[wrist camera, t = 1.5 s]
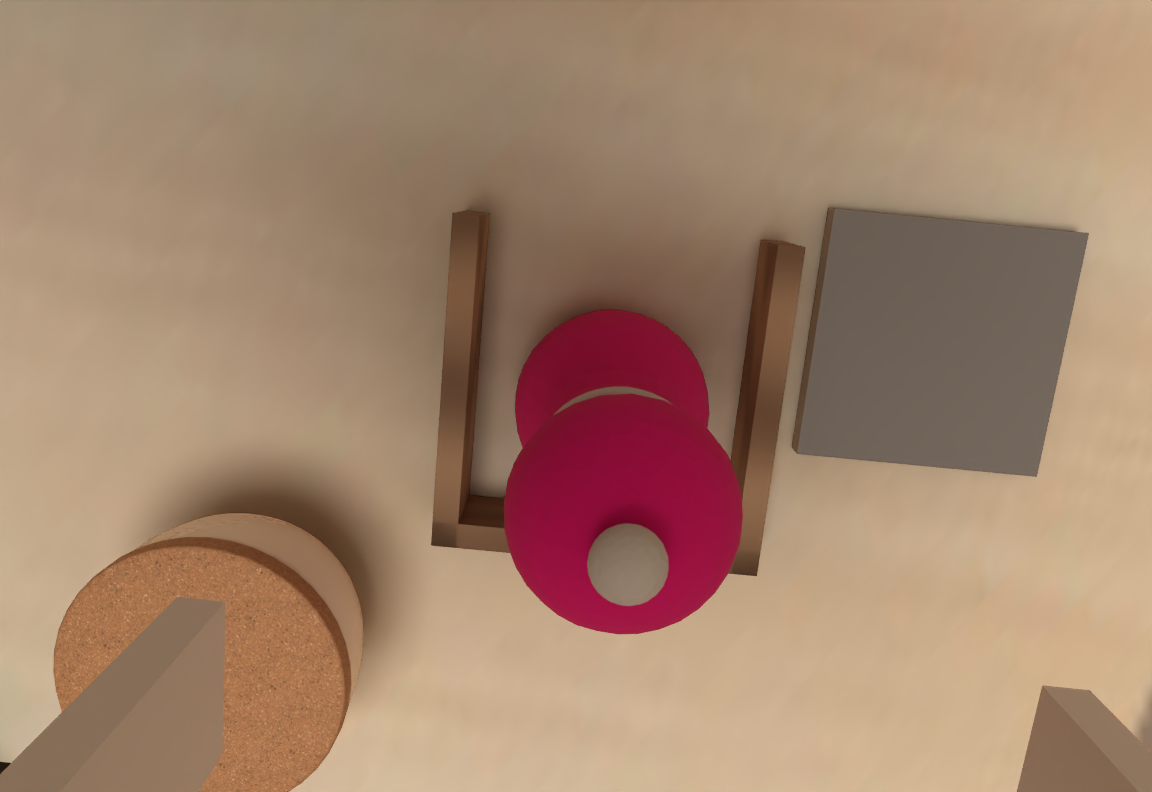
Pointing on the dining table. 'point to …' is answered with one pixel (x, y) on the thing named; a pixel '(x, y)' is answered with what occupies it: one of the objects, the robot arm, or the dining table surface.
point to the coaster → (936, 341)
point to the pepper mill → (619, 477)
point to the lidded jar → (237, 637)
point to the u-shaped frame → (454, 508)
